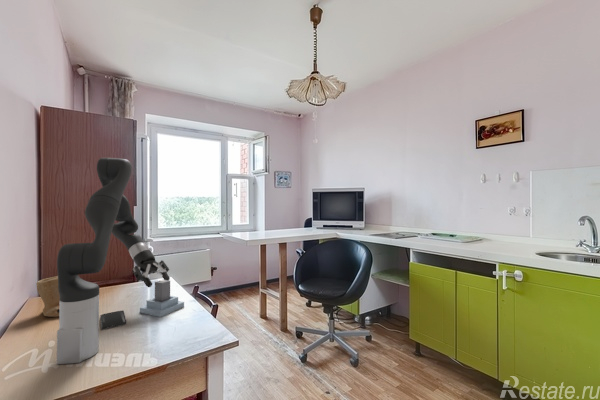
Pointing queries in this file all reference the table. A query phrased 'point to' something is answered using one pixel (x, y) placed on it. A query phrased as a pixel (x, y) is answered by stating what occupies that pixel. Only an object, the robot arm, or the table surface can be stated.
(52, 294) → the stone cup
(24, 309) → the table surface
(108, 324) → the phone
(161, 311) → the outlet box
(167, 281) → the block
